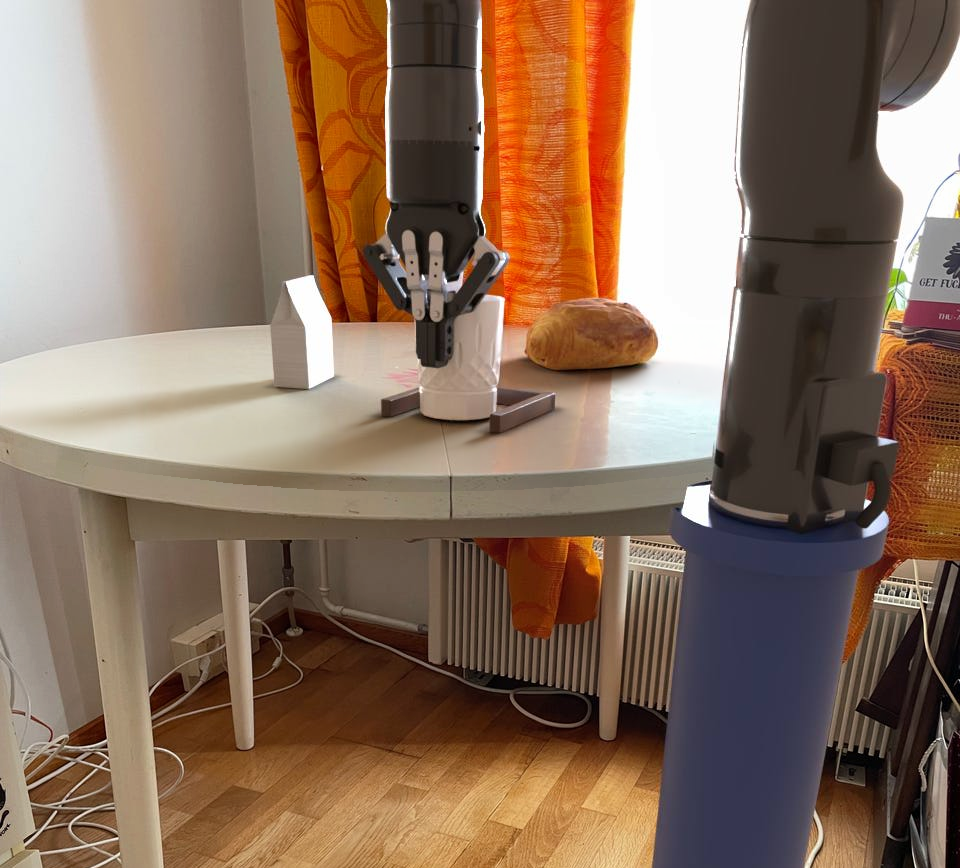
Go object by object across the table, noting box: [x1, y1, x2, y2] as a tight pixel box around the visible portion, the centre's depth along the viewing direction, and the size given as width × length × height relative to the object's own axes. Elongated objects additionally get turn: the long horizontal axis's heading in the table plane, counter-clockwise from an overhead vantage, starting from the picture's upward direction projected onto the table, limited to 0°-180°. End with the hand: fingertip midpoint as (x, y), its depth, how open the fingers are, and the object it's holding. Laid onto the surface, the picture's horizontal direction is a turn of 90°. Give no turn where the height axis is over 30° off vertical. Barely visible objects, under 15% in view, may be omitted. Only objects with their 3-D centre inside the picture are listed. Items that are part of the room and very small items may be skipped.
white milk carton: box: [269, 274, 335, 390], centre depth 103 cm, size 4×7×10 cm, turn 166°
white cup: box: [413, 294, 506, 421], centre depth 90 cm, size 8×8×10 cm
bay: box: [380, 385, 556, 434], centre depth 93 cm, size 11×12×2 cm
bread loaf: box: [523, 297, 659, 371], centre depth 116 cm, size 14×16×8 cm
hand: (434, 366), depth 86 cm, fingers closed
